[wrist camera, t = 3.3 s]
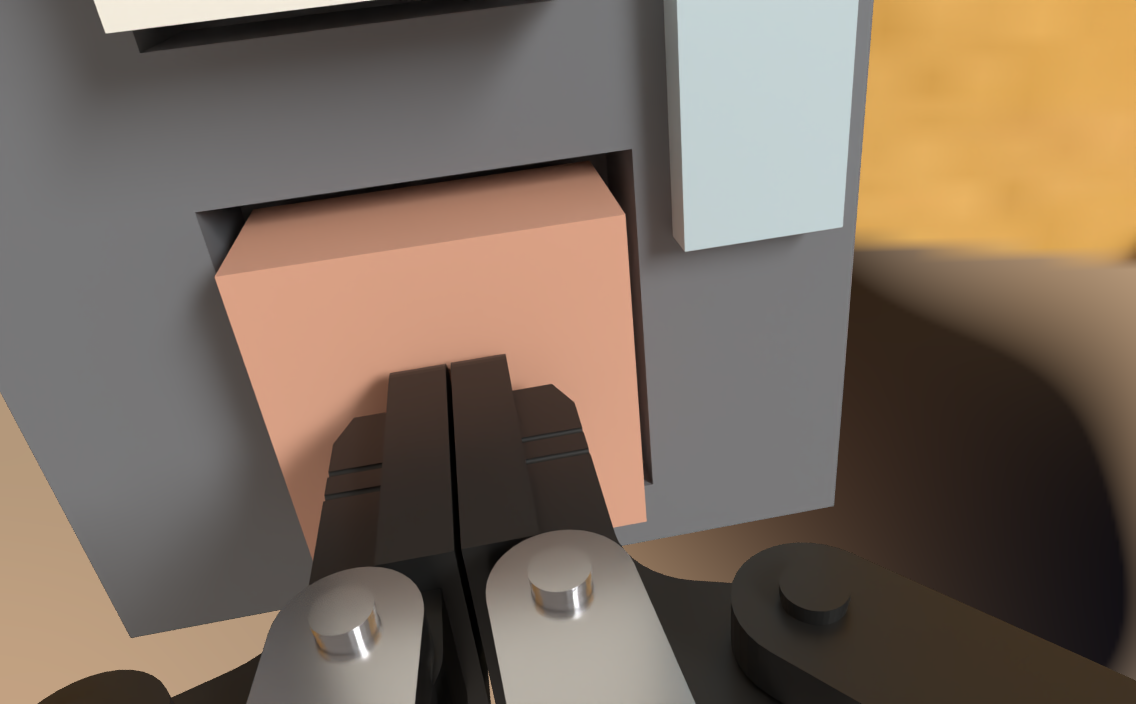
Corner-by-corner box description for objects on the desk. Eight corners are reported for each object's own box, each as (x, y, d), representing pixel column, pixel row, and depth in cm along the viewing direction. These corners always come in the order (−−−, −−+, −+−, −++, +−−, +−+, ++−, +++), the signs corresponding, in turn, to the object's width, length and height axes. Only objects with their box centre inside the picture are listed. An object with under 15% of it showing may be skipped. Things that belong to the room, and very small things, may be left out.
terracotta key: (252, 209, 11) (214, 276, 9) (589, 160, 12) (625, 214, 10) (336, 479, 14) (320, 581, 12) (613, 431, 14) (646, 521, 12)
